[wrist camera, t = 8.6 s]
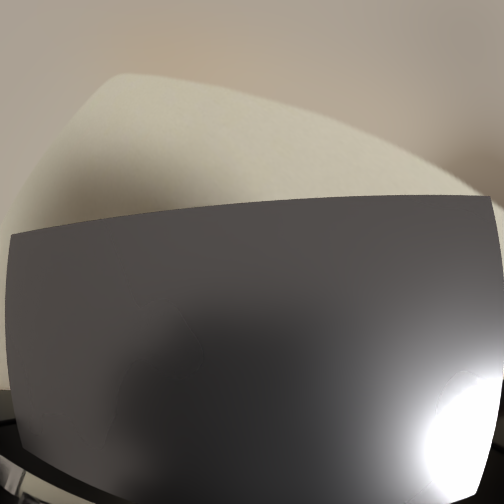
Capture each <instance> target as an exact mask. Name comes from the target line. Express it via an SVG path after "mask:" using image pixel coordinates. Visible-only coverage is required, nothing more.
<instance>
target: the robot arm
mask: <svg viewBox="0 0 504 504" xmlns="http://www.w3.org/2000/svg"><path fill="white" fill-rule="evenodd" d="M0 504H137V503H134V502H131V501H129V500H126V499H123V498H120V497H118V496H115V495H113V494H110V493H108V492H105V491H103V490H100V489H98V488H96V487H94V486H91V485H89V484H87V483H85V482H83V481H81V480H79V479H76V478H74V477H72V476H70V475H69V474H67V473H65V472H63V471H61V470H59V469H57V468H55V467H54V466H52V465H50V464H48V463H47V462H45V461H43V460H42V459H40V458H38V457H37V456H35V455H33V454H32V453H30V452H29V451H27V450H26V449H24V448H23V447H22V443H21V439H20V435H19V431H18V427H17V422H16V418H15V413H14V408H13V402H12V396H11V390H0ZM450 504H504V380H502V389H501V396H500V402H499V408H498V414H497V419H496V424H495V429H494V433H493V438H492V442H491V446H490V449H489V453H488V457H487V460H486V464H485V467H484V470H483V473H482V476H481V479H480V482H479V485H478V488H477V490H476V493H475V494H474V495H471V496H469V497H466V498H464V499H461V500H458V501H456V502H453V503H450Z"/></svg>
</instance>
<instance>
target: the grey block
mask: <svg viewBox="0 0 504 504" xmlns="http://www.w3.org/2000/svg"><path fill="white" fill-rule="evenodd" d="M5 334H6V353H7V365H8V374H9V382H10V389H11V396H12V402H13V408H14V413H15V418H16V422H17V427H18V431H19V435H20V439H21V443H22V447H23V448H24V449H26V450H27V451H29V452H30V453H32V454H33V455H35V456H37V457H38V458H40V459H42V460H43V461H45V462H47V463H48V464H50V465H52V466H54V467H55V468H57V469H59V470H61V471H63V472H65V473H67V474H69V475H70V476H72V477H74V478H76V479H79V480H81V481H83V482H85V483H87V484H89V485H91V486H94V487H96V488H98V489H100V490H103V491H105V492H108V493H110V494H113V495H115V496H118V497H120V498H123V499H126V500H129V501H131V502H134V503H137V504H450V503H453V502H456V501H458V500H461V499H464V498H466V497H469V496H471V495H474V494H475V493H476V490H477V488H478V485H479V482H480V479H481V476H482V473H483V470H484V467H485V464H486V460H487V457H488V453H489V449H490V446H491V442H492V438H493V433H494V429H495V424H496V419H497V414H498V408H499V402H500V396H501V389H502V380H503V371H504V276H503V266H502V258H501V250H500V244H499V237H498V231H497V226H496V221H495V216H494V211H493V207H492V202H491V198H490V196H466V195H385V196H350V197H327V198H307V199H291V200H275V201H262V202H249V203H237V204H226V205H215V206H205V207H195V208H185V209H176V210H168V211H159V212H151V213H143V214H135V215H128V216H120V217H113V218H106V219H99V220H93V221H86V222H80V223H74V224H68V225H62V226H56V227H50V228H44V229H39V230H33V231H28V232H23V233H18V234H13V235H11V239H10V247H9V255H8V265H7V277H6V296H5Z"/></svg>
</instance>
